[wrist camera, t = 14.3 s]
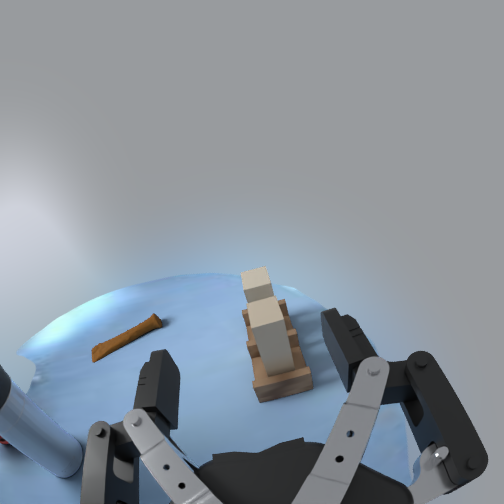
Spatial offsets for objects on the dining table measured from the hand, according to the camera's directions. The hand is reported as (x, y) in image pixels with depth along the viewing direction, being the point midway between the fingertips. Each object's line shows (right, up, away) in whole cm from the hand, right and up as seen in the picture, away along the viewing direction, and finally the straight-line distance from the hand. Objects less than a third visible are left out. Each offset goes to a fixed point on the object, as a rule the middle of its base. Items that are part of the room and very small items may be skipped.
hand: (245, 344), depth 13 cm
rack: (+4, -12, +31) cm, 33 cm away
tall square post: (+4, -10, +34) cm, 35 cm away
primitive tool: (-28, -16, +42) cm, 53 cm away
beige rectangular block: (+5, -13, +27) cm, 30 cm away
